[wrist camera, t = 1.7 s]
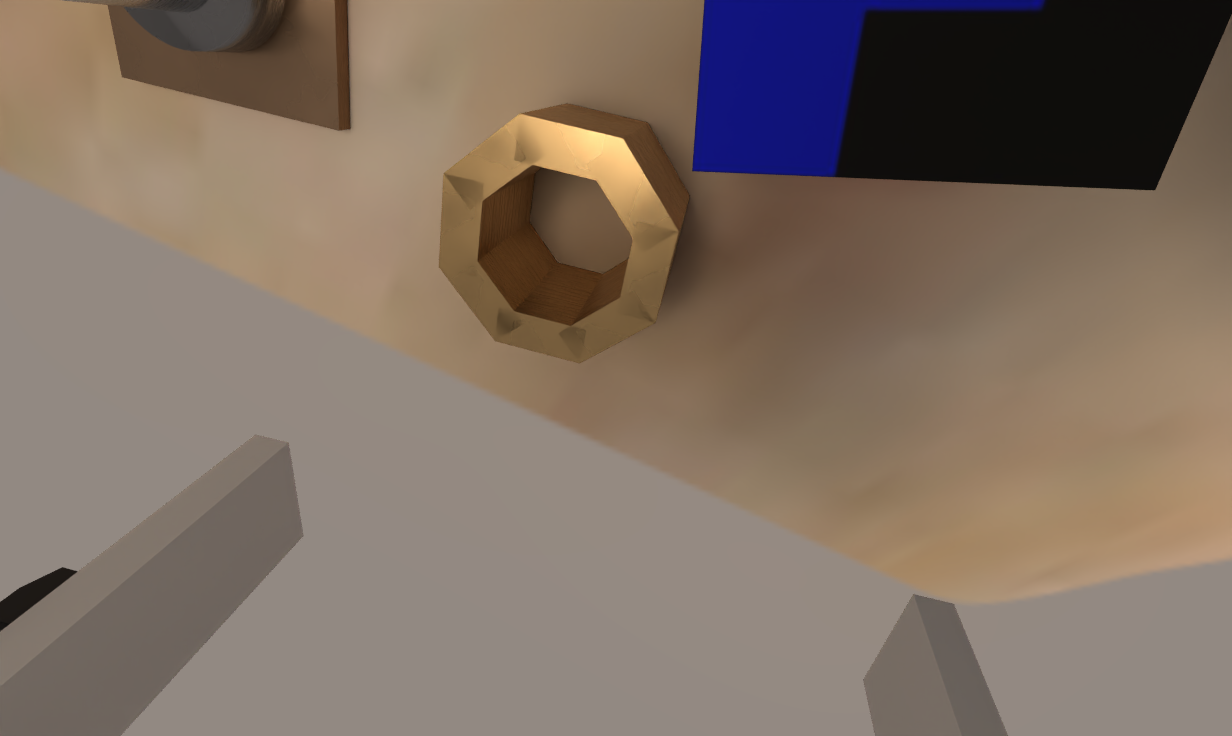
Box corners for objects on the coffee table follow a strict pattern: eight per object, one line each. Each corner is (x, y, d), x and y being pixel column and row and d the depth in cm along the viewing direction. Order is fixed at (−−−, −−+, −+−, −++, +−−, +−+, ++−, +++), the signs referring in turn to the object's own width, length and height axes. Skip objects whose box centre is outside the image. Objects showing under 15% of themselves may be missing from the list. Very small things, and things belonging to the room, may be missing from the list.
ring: (511, 90, 23) (447, 96, 18) (705, 135, 23) (698, 156, 17) (493, 275, 27) (436, 325, 22) (658, 318, 27) (640, 379, 21)
